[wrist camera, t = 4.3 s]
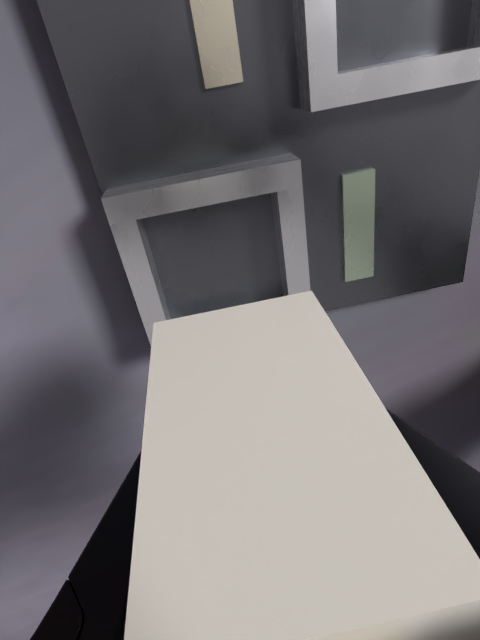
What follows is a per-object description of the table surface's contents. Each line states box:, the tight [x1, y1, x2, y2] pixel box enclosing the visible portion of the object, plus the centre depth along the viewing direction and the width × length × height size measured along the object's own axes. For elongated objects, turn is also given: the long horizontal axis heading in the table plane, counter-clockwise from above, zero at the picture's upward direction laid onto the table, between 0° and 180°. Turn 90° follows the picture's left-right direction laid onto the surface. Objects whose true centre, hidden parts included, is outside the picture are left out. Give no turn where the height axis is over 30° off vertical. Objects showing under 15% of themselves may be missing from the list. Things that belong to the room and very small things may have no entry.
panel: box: [36, 0, 480, 345], centre depth 16 cm, size 18×16×3 cm
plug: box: [124, 291, 480, 640], centre depth 8 cm, size 4×4×8 cm
